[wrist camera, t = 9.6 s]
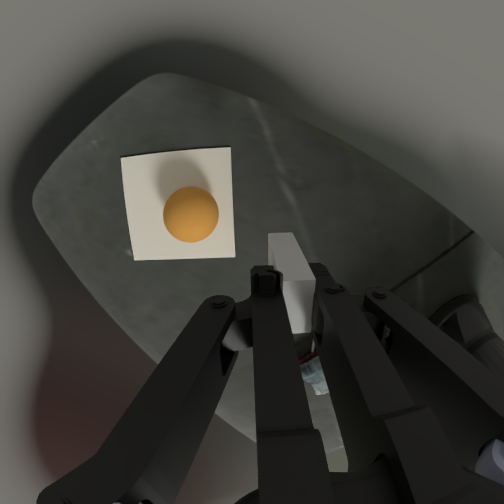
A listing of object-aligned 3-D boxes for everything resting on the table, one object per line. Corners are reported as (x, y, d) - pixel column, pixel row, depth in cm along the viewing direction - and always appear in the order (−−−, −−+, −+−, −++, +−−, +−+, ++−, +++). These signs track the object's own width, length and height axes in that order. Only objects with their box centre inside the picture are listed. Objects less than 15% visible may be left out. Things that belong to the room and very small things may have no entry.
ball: (149, 199, 23) (168, 184, 28) (162, 254, 26) (177, 231, 31) (208, 191, 23) (218, 177, 28) (218, 250, 26) (225, 227, 30)
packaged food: (376, 346, 39) (388, 367, 34) (314, 386, 41) (320, 409, 37) (352, 314, 36) (364, 336, 31) (283, 360, 39) (287, 384, 34)
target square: (230, 147, 27) (230, 147, 27) (235, 256, 32) (235, 257, 32) (121, 157, 27) (120, 158, 27) (135, 259, 31) (134, 260, 31)
